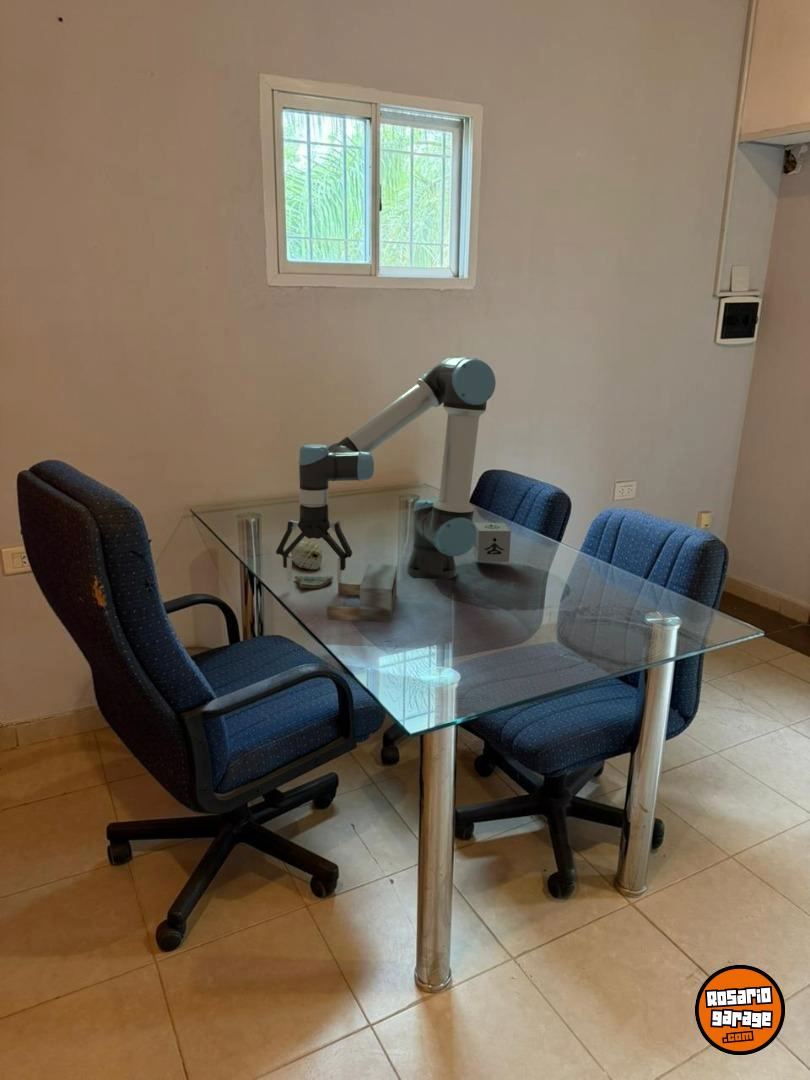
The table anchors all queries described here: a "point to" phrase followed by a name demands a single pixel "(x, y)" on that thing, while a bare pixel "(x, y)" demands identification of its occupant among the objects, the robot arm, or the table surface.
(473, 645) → the table surface
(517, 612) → the table surface
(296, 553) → the seashell
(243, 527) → the table surface
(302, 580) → the ceramic fragment
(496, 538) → the icon cube
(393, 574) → the seat fixture
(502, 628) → the table surface
